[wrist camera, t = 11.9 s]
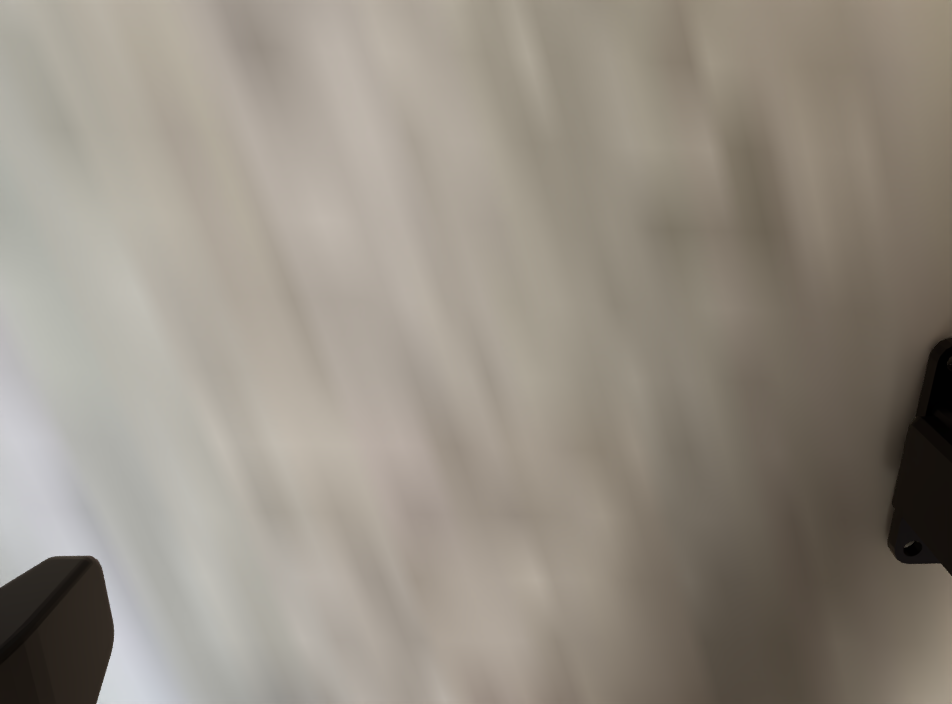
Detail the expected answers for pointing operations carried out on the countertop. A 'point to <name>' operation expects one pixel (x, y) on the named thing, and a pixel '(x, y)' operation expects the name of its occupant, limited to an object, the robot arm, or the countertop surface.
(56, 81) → the countertop surface
